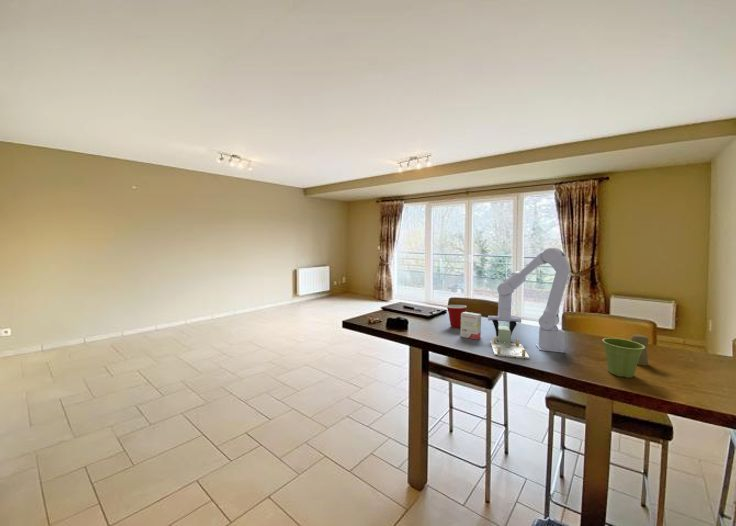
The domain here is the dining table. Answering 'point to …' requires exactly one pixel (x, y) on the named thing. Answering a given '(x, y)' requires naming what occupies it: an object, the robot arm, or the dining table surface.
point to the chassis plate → (509, 349)
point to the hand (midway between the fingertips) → (503, 336)
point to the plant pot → (622, 356)
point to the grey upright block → (643, 357)
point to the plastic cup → (455, 314)
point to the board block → (504, 334)
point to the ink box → (470, 325)
